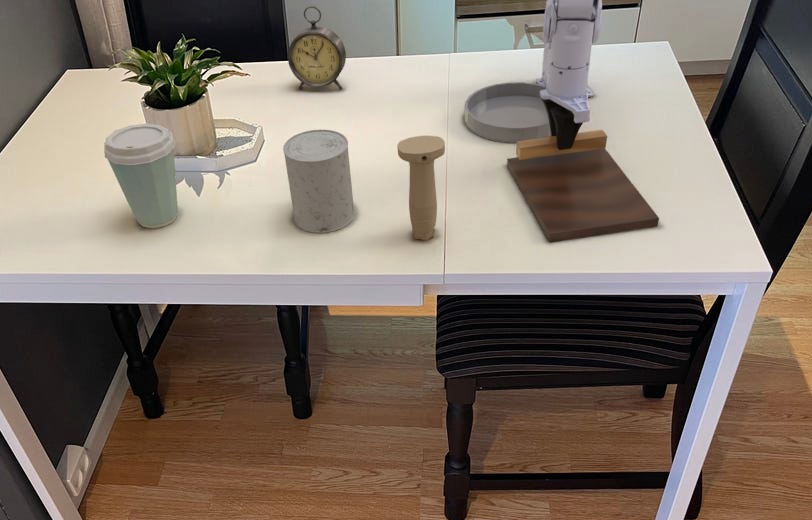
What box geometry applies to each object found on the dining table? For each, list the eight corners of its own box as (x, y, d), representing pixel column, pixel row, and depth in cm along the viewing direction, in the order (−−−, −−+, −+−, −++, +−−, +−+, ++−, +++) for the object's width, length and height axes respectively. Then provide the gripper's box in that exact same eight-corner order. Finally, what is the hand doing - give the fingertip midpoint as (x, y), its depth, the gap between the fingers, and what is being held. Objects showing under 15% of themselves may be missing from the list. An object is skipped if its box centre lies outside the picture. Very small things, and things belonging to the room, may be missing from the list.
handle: (448, 241, 115) (447, 150, 105) (404, 247, 115) (400, 156, 105) (442, 223, 118) (441, 133, 109) (400, 229, 118) (395, 139, 109)
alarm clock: (291, 92, 158) (280, 11, 148) (299, 80, 162) (288, 0, 152) (344, 93, 156) (336, 11, 145) (350, 81, 160) (343, 0, 149)
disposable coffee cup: (135, 201, 131) (110, 118, 121) (199, 198, 130) (178, 114, 120) (119, 238, 123) (90, 152, 113) (186, 235, 122) (164, 148, 112)
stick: (515, 153, 127) (516, 141, 125) (600, 141, 127) (602, 129, 126) (519, 160, 125) (520, 147, 123) (605, 148, 125) (607, 135, 124)
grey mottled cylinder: (333, 239, 118) (324, 167, 110) (281, 223, 122) (269, 153, 114) (366, 207, 124) (360, 136, 116) (316, 193, 128) (307, 124, 120)
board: (506, 166, 130) (507, 158, 129) (601, 153, 130) (602, 145, 129) (549, 242, 113) (549, 233, 112) (657, 226, 113) (659, 218, 112)
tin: (454, 103, 149) (454, 89, 147) (548, 90, 149) (549, 76, 148) (478, 148, 135) (478, 133, 133) (581, 134, 136) (582, 119, 134)
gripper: (528, 46, 122) (523, 126, 131) (559, 85, 111) (551, 170, 120) (573, 40, 122) (565, 120, 131) (608, 78, 111) (596, 163, 120)
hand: (561, 144), depth 125 cm, fingers closed on stick, 2 cm apart
